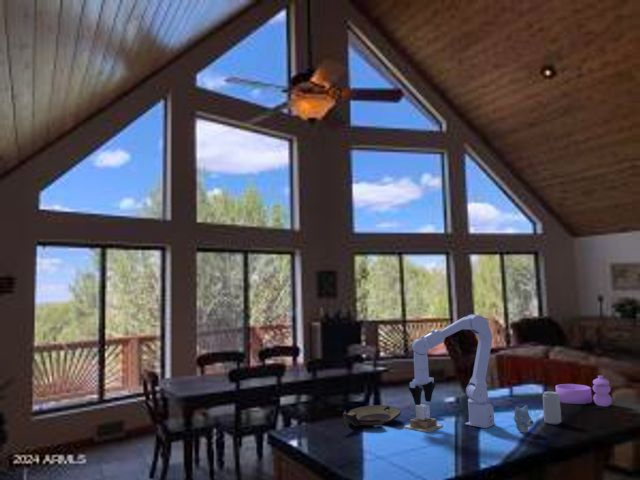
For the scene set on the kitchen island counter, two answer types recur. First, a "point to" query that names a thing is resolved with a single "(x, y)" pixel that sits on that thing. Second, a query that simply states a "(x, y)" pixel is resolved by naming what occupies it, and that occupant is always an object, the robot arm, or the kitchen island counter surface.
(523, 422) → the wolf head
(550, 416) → the beverage can
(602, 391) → the container set
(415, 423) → the collar
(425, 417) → the peg
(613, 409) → the kitchen island counter surface
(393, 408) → the olive shallow bowl
